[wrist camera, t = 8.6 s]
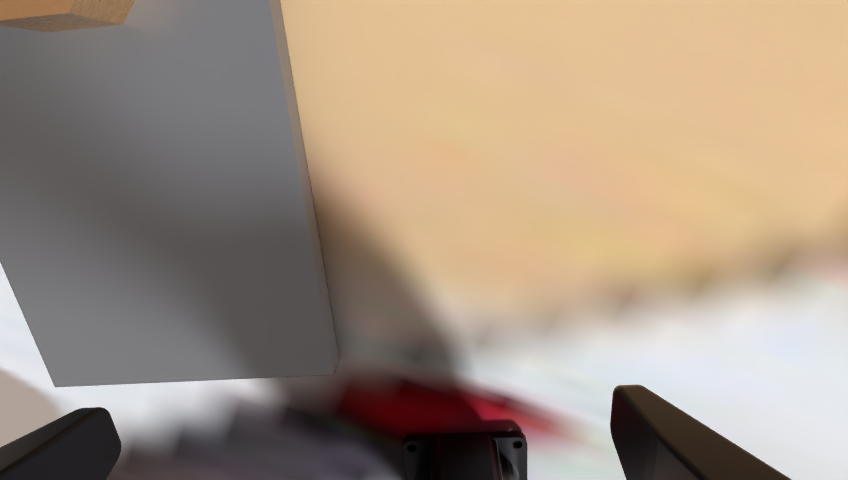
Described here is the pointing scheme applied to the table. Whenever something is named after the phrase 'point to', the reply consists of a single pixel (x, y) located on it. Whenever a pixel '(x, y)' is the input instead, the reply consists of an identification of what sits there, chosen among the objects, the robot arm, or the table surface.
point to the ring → (63, 14)
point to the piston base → (162, 198)
